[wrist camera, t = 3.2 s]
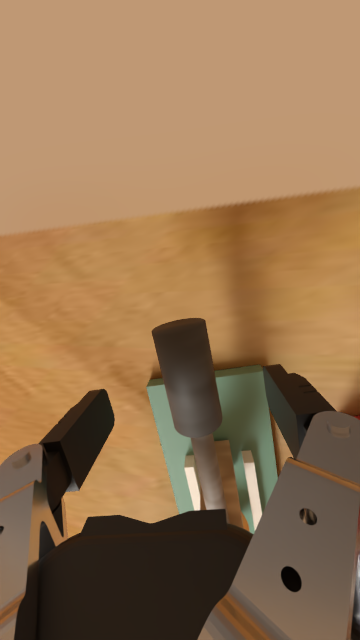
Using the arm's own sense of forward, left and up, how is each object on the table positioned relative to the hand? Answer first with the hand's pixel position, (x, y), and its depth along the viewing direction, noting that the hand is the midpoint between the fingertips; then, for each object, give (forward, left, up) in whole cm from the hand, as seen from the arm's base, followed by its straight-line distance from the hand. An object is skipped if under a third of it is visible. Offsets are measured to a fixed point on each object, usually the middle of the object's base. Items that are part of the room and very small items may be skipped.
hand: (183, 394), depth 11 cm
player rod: (0, +6, -10) cm, 12 cm away
